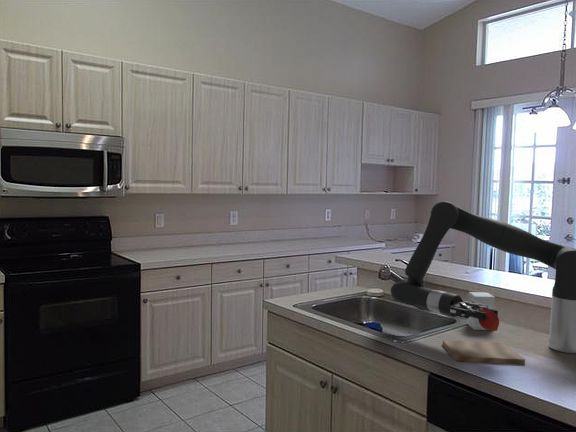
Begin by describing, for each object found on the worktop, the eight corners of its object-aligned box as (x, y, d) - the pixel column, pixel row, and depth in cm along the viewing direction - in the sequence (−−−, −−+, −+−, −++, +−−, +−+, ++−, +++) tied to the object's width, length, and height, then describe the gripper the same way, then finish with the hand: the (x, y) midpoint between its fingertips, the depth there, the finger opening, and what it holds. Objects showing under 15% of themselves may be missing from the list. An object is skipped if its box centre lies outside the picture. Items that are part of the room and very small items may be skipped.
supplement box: (486, 324, 183) (488, 292, 182) (493, 330, 175) (495, 296, 174) (466, 324, 183) (468, 291, 182) (473, 329, 176) (475, 296, 175)
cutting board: (504, 347, 157) (504, 342, 157) (524, 364, 142) (525, 359, 142) (442, 344, 158) (442, 340, 158) (456, 361, 143) (457, 356, 143)
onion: (491, 335, 149) (476, 312, 153) (507, 325, 146) (491, 303, 150) (485, 336, 145) (469, 313, 149) (500, 326, 142) (484, 303, 146)
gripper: (431, 294, 155) (480, 306, 142) (457, 289, 164) (504, 300, 151) (430, 317, 156) (478, 331, 143) (455, 311, 165) (503, 324, 151)
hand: (491, 315), depth 147 cm, fingers closed on onion, 5 cm apart
